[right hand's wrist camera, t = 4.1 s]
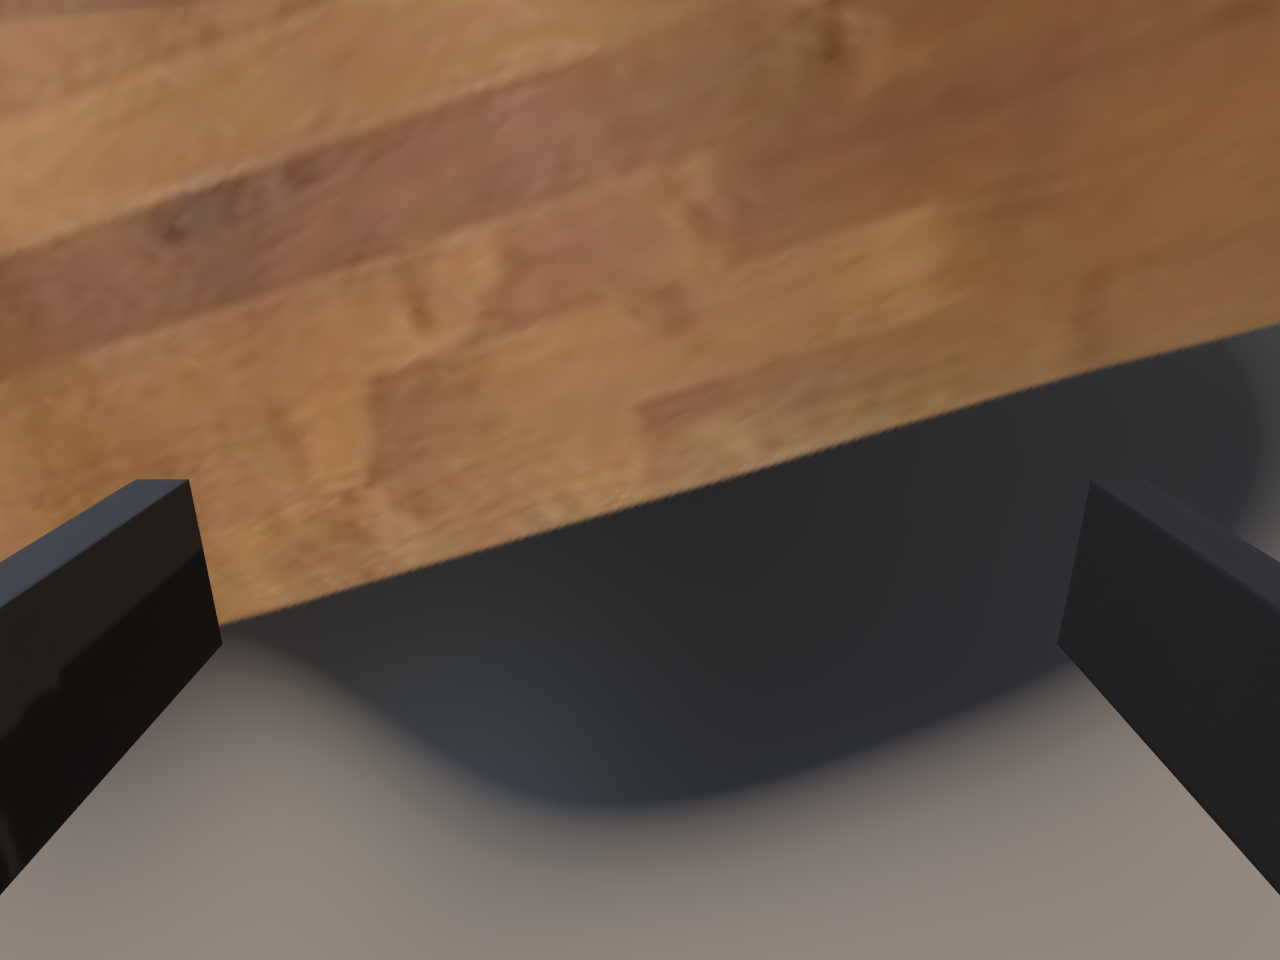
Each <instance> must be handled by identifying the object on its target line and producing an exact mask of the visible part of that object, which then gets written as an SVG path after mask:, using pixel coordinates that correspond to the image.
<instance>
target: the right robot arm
mask: <svg viewBox="0 0 1280 960" xmlns="http://www.w3.org/2000/svg"><path fill="white" fill-rule="evenodd" d="M221 645H222V639H221V634H220V630H219V625H218V620H217V615H216V610H215V605H214V600H213V595H212V590H211V586H210V581H209V576H208V571H207V566H206V561H205V556H204V551H203V547H202V542H201V537H200V532H199V527H198V522H197V517H196V512H195V507H194V503H193V498H192V493H191V488H190V483H189V480H135V481H133V482H131V483H130V484H128V485H126V486H125V487H123V488H121V489H120V490H118V491H117V492H115V493H113V494H112V495H110V496H108V497H107V498H105V499H103V500H102V501H100V502H99V503H97V504H95V505H94V506H92V507H90V508H89V509H87V510H85V511H84V512H82V513H80V514H79V515H77V516H76V517H74V518H72V519H71V520H69V521H67V522H66V523H64V524H62V525H61V526H59V527H58V528H56V529H54V530H53V531H51V532H49V533H48V534H46V535H44V536H43V537H41V538H39V539H38V540H36V541H35V542H33V543H31V544H30V545H28V546H26V547H25V548H23V549H21V550H20V551H18V552H17V553H15V554H13V555H12V556H10V557H8V558H7V559H5V560H3V561H2V562H0V895H1V893H2V892H3V891H4V890H5V889H6V888H7V887H8V886H9V884H10V883H11V882H12V881H13V880H14V879H15V878H16V876H17V875H18V874H19V873H20V872H21V871H22V870H23V869H24V867H25V866H26V865H27V864H28V863H29V862H30V861H31V859H32V858H33V857H34V856H35V855H36V854H37V853H38V852H39V851H40V849H41V848H42V847H43V846H44V845H45V844H46V843H47V842H48V840H49V839H50V838H51V837H52V836H53V835H54V834H55V832H56V831H57V830H58V829H59V828H60V827H61V826H62V825H63V823H64V822H65V821H66V820H67V819H68V818H69V817H70V816H71V814H72V813H73V812H74V811H75V810H76V809H77V808H78V807H79V805H80V804H81V803H82V802H83V801H84V800H85V799H86V797H87V796H88V795H89V794H90V793H91V792H92V791H93V790H94V788H95V787H96V786H97V785H98V784H99V783H100V782H101V781H102V779H103V778H104V777H105V776H106V775H107V774H108V773H109V771H110V770H111V769H112V768H113V767H114V766H115V765H116V764H117V762H118V761H119V760H120V759H121V758H122V757H123V756H124V755H125V753H126V752H127V751H128V750H129V749H130V748H131V747H132V745H133V744H134V743H135V742H136V741H137V740H138V739H139V738H140V736H141V735H142V734H143V733H144V732H145V731H146V730H147V729H148V727H149V726H150V725H151V724H152V723H153V722H154V721H155V720H156V718H157V717H158V716H159V715H160V714H161V713H162V712H163V710H164V709H165V708H166V707H167V706H168V705H169V704H170V703H171V701H172V700H173V699H174V698H175V697H176V696H177V695H178V694H179V692H180V691H181V690H182V689H183V688H184V687H185V686H186V685H187V683H188V682H189V681H190V680H191V679H192V678H193V677H194V675H195V674H196V673H197V672H198V671H199V670H200V669H201V668H202V666H203V665H204V664H205V663H206V662H207V661H208V660H209V658H210V657H211V656H212V655H213V654H214V653H215V652H216V651H217V650H218V648H219V647H220V646H221ZM1058 645H1059V646H1060V647H1061V648H1062V649H1063V651H1064V652H1065V653H1066V654H1067V655H1068V656H1069V657H1070V659H1071V660H1072V661H1073V662H1074V663H1075V664H1076V665H1077V666H1078V667H1079V669H1080V670H1081V671H1082V672H1083V673H1084V674H1085V675H1086V677H1087V678H1088V679H1089V680H1090V681H1091V682H1092V683H1093V684H1094V686H1095V687H1096V688H1097V689H1098V690H1099V691H1100V692H1101V694H1102V695H1103V696H1104V697H1105V698H1106V699H1107V700H1108V701H1109V703H1110V704H1111V705H1112V706H1113V707H1114V708H1115V709H1116V710H1117V712H1118V713H1119V714H1120V715H1121V716H1122V717H1123V718H1124V719H1125V721H1126V722H1127V723H1128V724H1129V725H1130V726H1131V727H1132V729H1133V730H1134V731H1135V732H1136V733H1137V734H1138V735H1139V736H1140V738H1141V739H1142V740H1143V741H1144V742H1145V743H1146V744H1147V746H1148V747H1149V748H1150V749H1151V750H1152V751H1153V752H1154V753H1155V755H1156V756H1157V757H1158V758H1159V759H1160V760H1161V761H1162V762H1163V764H1164V765H1165V766H1166V767H1167V768H1168V769H1169V770H1170V771H1171V773H1172V774H1173V775H1174V776H1175V777H1176V778H1177V779H1178V780H1179V782H1180V783H1181V784H1182V785H1183V786H1184V787H1185V788H1186V790H1187V791H1188V792H1189V793H1190V794H1191V795H1192V796H1193V797H1194V799H1195V800H1196V801H1197V802H1198V803H1199V804H1200V805H1201V807H1202V808H1203V809H1204V810H1205V811H1206V812H1207V813H1208V814H1209V816H1210V817H1211V818H1212V819H1213V820H1214V821H1215V822H1216V823H1217V825H1218V826H1219V827H1220V828H1221V829H1222V830H1223V831H1224V832H1225V834H1226V835H1227V836H1228V837H1229V838H1230V839H1231V840H1232V842H1233V843H1234V844H1235V845H1236V846H1237V847H1238V848H1239V849H1240V851H1241V852H1242V853H1243V854H1244V855H1245V856H1246V857H1247V858H1248V860H1249V861H1250V862H1251V863H1252V864H1253V865H1254V866H1255V868H1256V869H1257V870H1258V871H1259V872H1260V873H1261V874H1262V875H1263V877H1264V878H1265V879H1266V880H1267V881H1268V882H1269V883H1270V884H1271V886H1272V887H1273V888H1274V889H1275V890H1276V891H1277V892H1278V893H1279V895H1280V562H1278V561H1276V560H1275V559H1273V558H1272V557H1270V556H1268V555H1267V554H1265V553H1263V552H1262V551H1260V550H1258V549H1257V548H1255V547H1254V546H1252V545H1250V544H1249V543H1247V542H1245V541H1244V540H1242V539H1241V538H1239V537H1237V536H1236V535H1234V534H1232V533H1231V532H1229V531H1227V530H1226V529H1224V528H1222V527H1221V526H1219V525H1218V524H1216V523H1214V522H1213V521H1211V520H1209V519H1208V518H1206V517H1204V516H1203V515H1201V514H1200V513H1198V512H1196V511H1194V510H1193V509H1191V508H1190V507H1188V506H1186V505H1185V504H1183V503H1181V502H1180V501H1178V500H1177V499H1175V498H1173V497H1172V496H1170V495H1168V494H1167V493H1165V492H1163V491H1162V490H1160V489H1159V488H1157V487H1155V486H1154V485H1152V484H1150V483H1149V482H1147V481H1145V480H1091V483H1090V488H1089V493H1088V498H1087V503H1086V508H1085V512H1084V517H1083V522H1082V527H1081V532H1080V537H1079V542H1078V547H1077V551H1076V556H1075V561H1074V566H1073V571H1072V576H1071V581H1070V586H1069V590H1068V595H1067V600H1066V605H1065V610H1064V615H1063V620H1062V625H1061V630H1060V634H1059V639H1058Z"/></svg>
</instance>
